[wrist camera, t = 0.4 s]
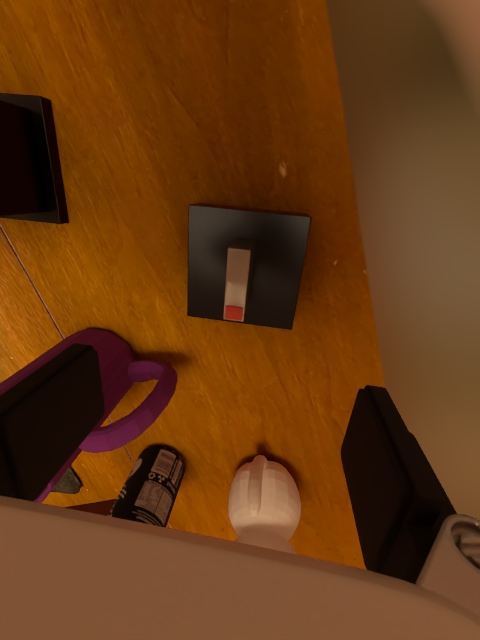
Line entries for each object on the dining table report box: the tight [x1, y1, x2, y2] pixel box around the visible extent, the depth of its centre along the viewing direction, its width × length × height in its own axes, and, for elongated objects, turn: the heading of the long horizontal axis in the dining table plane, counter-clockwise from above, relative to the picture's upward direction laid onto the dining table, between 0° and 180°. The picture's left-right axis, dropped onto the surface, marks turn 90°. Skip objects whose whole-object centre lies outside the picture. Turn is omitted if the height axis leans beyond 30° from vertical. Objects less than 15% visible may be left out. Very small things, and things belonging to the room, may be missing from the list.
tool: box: [50, 467, 81, 494], centre depth 45 cm, size 21×8×3 cm, turn 108°
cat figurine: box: [228, 455, 301, 554], centre depth 33 cm, size 9×12×15 cm
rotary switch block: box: [187, 203, 312, 330], centre depth 27 cm, size 10×10×3 cm
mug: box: [0, 328, 177, 503], centre depth 28 cm, size 9×16×15 cm, turn 98°
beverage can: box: [108, 446, 185, 528], centre depth 36 cm, size 7×7×12 cm
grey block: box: [223, 238, 256, 322], centre depth 23 cm, size 6×2×5 cm, turn 175°
